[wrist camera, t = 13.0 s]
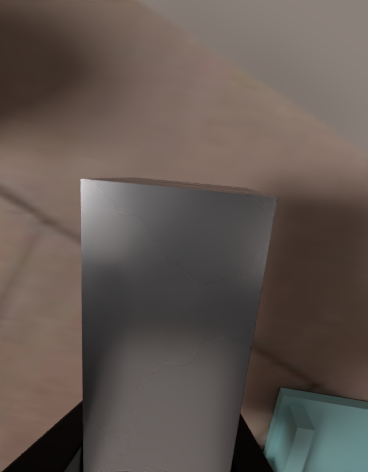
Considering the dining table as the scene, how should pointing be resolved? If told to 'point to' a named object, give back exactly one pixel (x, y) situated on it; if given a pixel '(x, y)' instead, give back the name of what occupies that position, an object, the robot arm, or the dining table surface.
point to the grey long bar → (168, 320)
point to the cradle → (317, 433)
